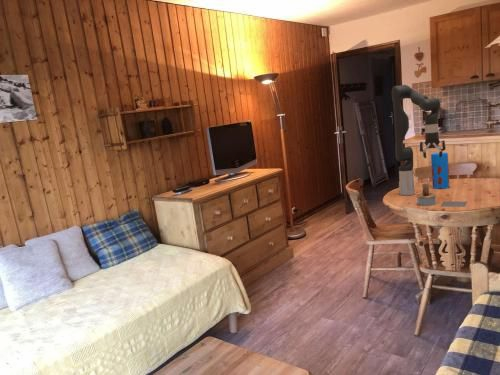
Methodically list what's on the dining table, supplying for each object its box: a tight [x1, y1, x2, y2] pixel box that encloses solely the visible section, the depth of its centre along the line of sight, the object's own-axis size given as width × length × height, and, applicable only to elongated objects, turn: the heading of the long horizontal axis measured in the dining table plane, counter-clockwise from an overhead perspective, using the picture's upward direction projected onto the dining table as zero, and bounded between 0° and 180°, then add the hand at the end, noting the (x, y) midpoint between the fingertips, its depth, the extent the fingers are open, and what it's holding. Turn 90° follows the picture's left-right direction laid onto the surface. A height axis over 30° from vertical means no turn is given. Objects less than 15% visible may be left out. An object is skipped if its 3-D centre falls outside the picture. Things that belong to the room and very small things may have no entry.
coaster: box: [439, 200, 468, 208], centre depth 229 cm, size 13×13×1 cm
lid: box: [415, 183, 437, 199], centre depth 236 cm, size 11×11×8 cm
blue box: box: [430, 151, 450, 190], centre depth 276 cm, size 11×11×25 cm
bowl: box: [416, 196, 437, 207], centre depth 237 cm, size 10×10×5 cm
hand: (432, 157), depth 238 cm, fingers open, 8 cm apart
